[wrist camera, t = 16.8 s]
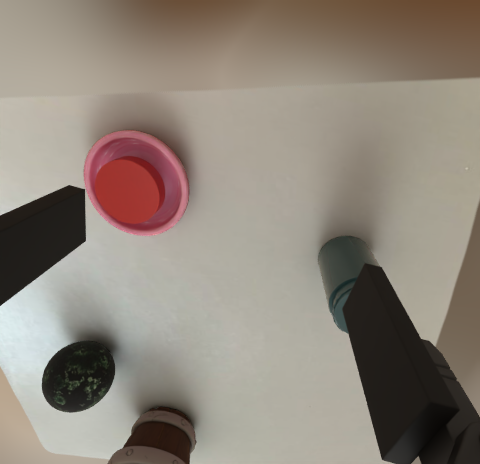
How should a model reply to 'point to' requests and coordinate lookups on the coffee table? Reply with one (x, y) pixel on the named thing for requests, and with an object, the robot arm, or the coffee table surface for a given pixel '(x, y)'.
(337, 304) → the lidded canister
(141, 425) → the flowerpot
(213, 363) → the coffee table surface
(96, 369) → the decorative stone
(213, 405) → the coffee table surface
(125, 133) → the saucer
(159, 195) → the jam lid
